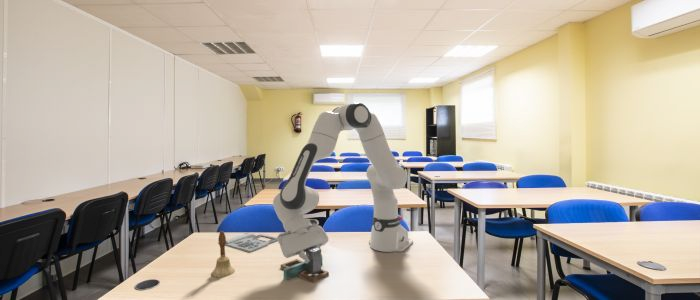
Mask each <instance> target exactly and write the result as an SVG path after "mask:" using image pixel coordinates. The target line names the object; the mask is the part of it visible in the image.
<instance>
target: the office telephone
mask: <svg viewBox="0 0 700 300" xmlns="http://www.w3.org/2000/svg"><path fill="white" fill-rule="evenodd" d="M262 237H263V238H266V239H270V240H268V241H266V240H263V239H259V238H262ZM277 237H278V236H271V235H267V234H262V233H259V234H257V235H256V234H254V233H253V232H251V231H249V232H245V233H241V234H239V235H236V236H232V237H229V238H226V243H225V246H226V247H230V248H234V249H237V250H241V251H243V250H244V252H248V253H253V252H255V251H259V250H261V249H263V248H266V247H268V246H269V245H271V244H273V243H276V242H278V240H277ZM268 244H269V245H268Z"/></svg>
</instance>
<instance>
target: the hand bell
mask: <svg viewBox="0 0 700 300" xmlns="http://www.w3.org/2000/svg"><path fill="white" fill-rule="evenodd" d="M226 239H227V237H226V235H225V232H224V230H220V231H219V235H218V245H219V250H220V251H219V253H220V256H219V257H218V258H216V265H215V267H214V269H213V270H212V271H211V276H213V277H214V278H223V277H228V276H231V275H233V274H234V273H235V271H236V270H235V268H234V267H233V266H232V265H231V262H230V257H229V256H226V249H225V248H226V247H225V246H226V245H225V243H226Z"/></svg>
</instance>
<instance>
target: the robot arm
mask: <svg viewBox="0 0 700 300" xmlns="http://www.w3.org/2000/svg"><path fill="white" fill-rule="evenodd" d="M351 130H355V131H356V133H358V137H359V139H360V142H361V143H360V144H361V146H362V148H363V151H364V153H365V157H366V158H367V159H368V160H369V162H370V163H371V164H370V165H368V167H367V169H366V173H365V174H366V178H367V180H368V182H369V184H370V189H371V193H372V199H373V216H372V226H371V233H370V239H369V241H368V243H369V247H370V248H371V249H372V250H375V251H378V252H384V253H385V252H386V253H388V252H389V253H390V252H391V253H392V252H399V253H401V252H404V251H406V249H407V248H409V247H410V246H411V245H412V244H413V243H414V240H413V239H411V238H409V233H408V230H407V228H405V227H404V226H402V224H401V222H400V221H403V220H404V219H403V218H404V217H403V215H402V216H401V215H398V214H399V212H398V210H399V209H398V206H399V205H398V198H397V197H396V195H395V192H394V190H400V189H402V188H404V186H405V185H406V184H407V181H408V174H407V172H406V170H405V168H403V167H402V166H401V165H400V164H399V162H398V161H397V159H396V158H395V156H394V154H393V152H392V150H391V148H390V146H389V144H388V141H387V138H386V136H385V132H384V130H383V126H382V125H381V123H380V121H379V118H378V117H377V115H376V114H375V113H373V112H371V111H370V110H369V108H368V107H367V106H366V105H365V104H364V103H362V102H352V103H346V104H343V105H341V106H339V107H336V108H334V109H333V110H332V111H330V110H329V111H328V110H327V111H323V112H321V113H320V114H319V115H318V117H317V118H316V121H315V123H314V125H313V127H312V130H311V133H310V136H309V139H308V141H307V143H306V145H304V146H303V147H302V149H301V151H300V153H299V155H298V157H297V159H296V162H295V164H294V166H293V168H292V171H291V173H290V175H289V177H288V179H287V180H286V182H285V183H284V184H283V186H282V188H281V189H280V192H279V193H277V195H275V197H274V198H273V200H272V205H273V208H274V211H275V214H276V215H277V218H278V220H279V221H280V222H281V223H282V226H283V229H284V231H285V232H282V233H279V234H278V236H276V237H277V240H278V241H277V243H278V244H279V248H280V250H281V252H282V255H283V257H285V259H289V258H292V257H295V256H297V255H298V256H299V258H301V259H302V260H303V261H305V262H306V264H307V263H310V262H311V259H310V256H309V257H308V256H306V249H309V248H312V247H316V248H319V249H321V247H323V246H325V245H326V244H327V243H328V242H329V237H328V234H327V233H326V231H325V230H324V228H323V227H322V226H321V225H319V224H320V222H319V220H317V219H314V218H313V219H312V218H306V217H305V214H308V213H310V212H311V211H313V210H314V209H316V207H318V205H319V201H320V195H319V193H318V191H317V190H316V189H315V188H312V187H310V186H307V185H306V182H307V180H308V177H309V174H310V172H311V171H312V168H313V165H314V164H315V163H316V162H317V161H319V160H325V159H327V158H329V157H330V156H331V155H332V154H333V153H334V151H335V149H336V146H337V142H338V139H339V135H340V133H341V131H351ZM321 257H322V258H323V254H322V253H321Z"/></svg>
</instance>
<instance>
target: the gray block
mask: <svg viewBox="0 0 700 300" xmlns="http://www.w3.org/2000/svg"><path fill="white" fill-rule="evenodd" d="M321 254H322V248H320V249H319V248H316V247H312V248H309V249H306V252H305V255H306V256H308V257H309V256H310V259H311V262H310V263H307V264H306V272H307V273H308V274H310V275H312V276H315V275H317V274H320V273H319V272H321V269H322V265H321Z"/></svg>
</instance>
